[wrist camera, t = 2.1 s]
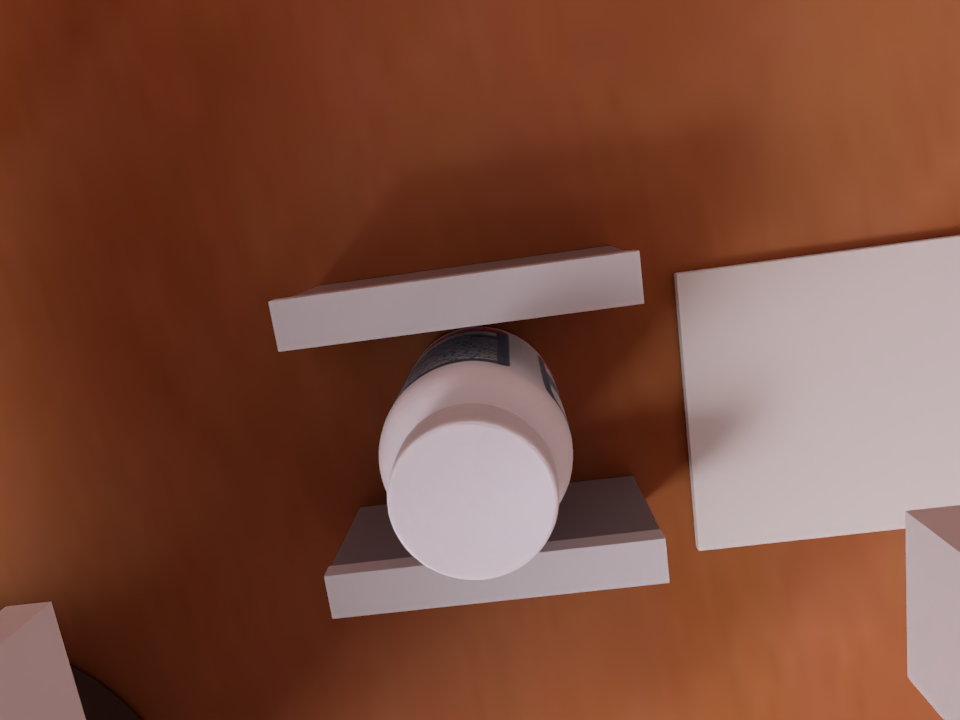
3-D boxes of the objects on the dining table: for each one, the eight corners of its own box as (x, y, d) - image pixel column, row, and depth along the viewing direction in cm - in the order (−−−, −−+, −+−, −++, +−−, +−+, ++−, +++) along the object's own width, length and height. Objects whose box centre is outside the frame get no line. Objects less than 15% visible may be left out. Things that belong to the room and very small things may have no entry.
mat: (695, 545, 25) (699, 551, 25) (673, 273, 23) (676, 274, 23) (1156, 494, 24) (1166, 499, 24) (1175, 205, 22) (1186, 205, 22)
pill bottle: (379, 416, 25) (311, 527, 16) (459, 295, 24) (434, 343, 15) (502, 495, 25) (501, 645, 16) (586, 380, 24) (632, 474, 15)
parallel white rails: (365, 539, 26) (332, 618, 21) (317, 282, 24) (268, 301, 19) (636, 509, 25) (669, 582, 20) (610, 242, 23) (639, 251, 18)
